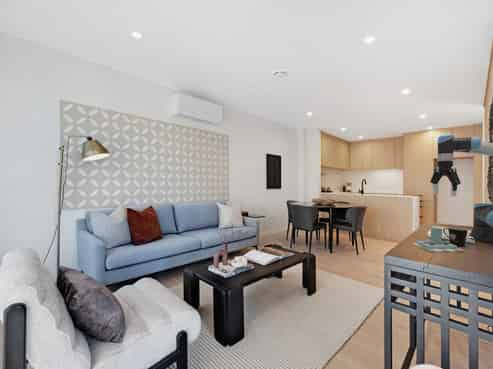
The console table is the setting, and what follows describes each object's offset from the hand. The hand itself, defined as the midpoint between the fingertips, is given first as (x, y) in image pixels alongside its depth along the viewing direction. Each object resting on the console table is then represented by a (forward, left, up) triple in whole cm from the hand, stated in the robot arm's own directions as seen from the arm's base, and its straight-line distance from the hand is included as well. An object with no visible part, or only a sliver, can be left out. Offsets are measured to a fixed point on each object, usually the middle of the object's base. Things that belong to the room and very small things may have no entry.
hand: (444, 195), depth 147 cm
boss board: (+14, +14, -29) cm, 35 cm away
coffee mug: (-2, +7, -29) cm, 30 cm away
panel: (+14, +13, -28) cm, 34 cm away
